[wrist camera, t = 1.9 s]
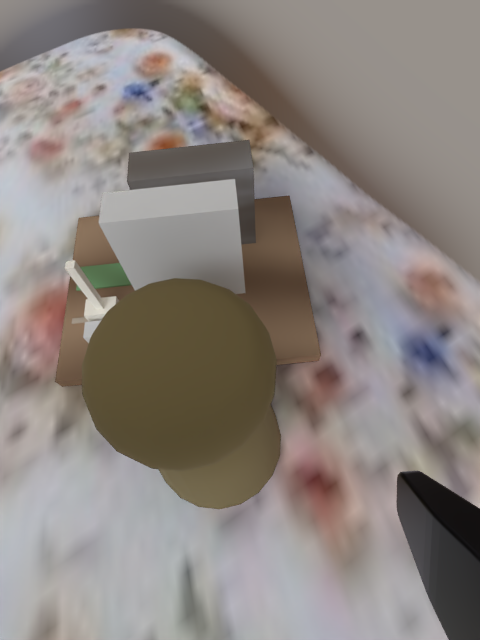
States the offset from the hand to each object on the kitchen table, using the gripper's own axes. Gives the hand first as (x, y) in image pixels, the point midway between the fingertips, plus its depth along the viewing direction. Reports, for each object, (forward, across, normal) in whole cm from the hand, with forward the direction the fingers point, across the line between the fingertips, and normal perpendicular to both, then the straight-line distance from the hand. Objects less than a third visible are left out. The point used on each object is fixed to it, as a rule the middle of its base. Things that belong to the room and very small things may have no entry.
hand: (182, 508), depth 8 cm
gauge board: (+16, +2, -1) cm, 16 cm away
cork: (+10, 0, +5) cm, 11 cm away
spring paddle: (+13, +2, +1) cm, 13 cm away
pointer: (+14, +6, -1) cm, 15 cm away
